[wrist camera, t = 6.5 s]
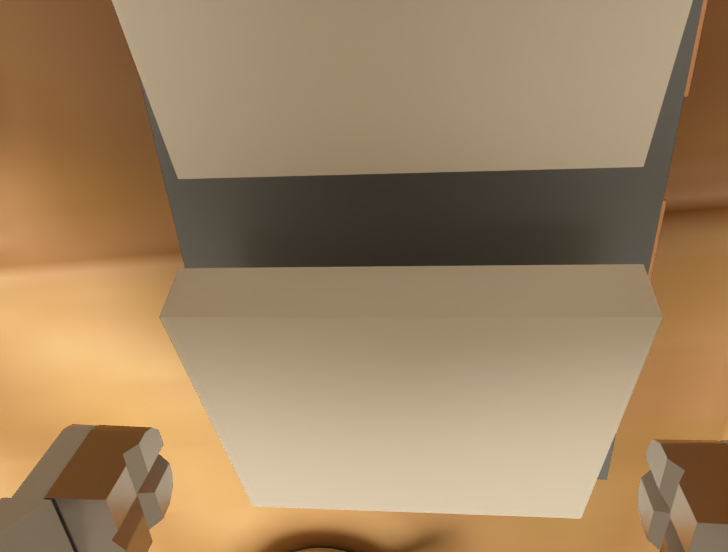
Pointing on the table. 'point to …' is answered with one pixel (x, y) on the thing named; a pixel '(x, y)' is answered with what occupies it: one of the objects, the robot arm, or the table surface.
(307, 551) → the teacup
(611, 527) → the table surface
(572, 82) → the rocker
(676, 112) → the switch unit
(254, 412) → the block
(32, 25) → the table surface
